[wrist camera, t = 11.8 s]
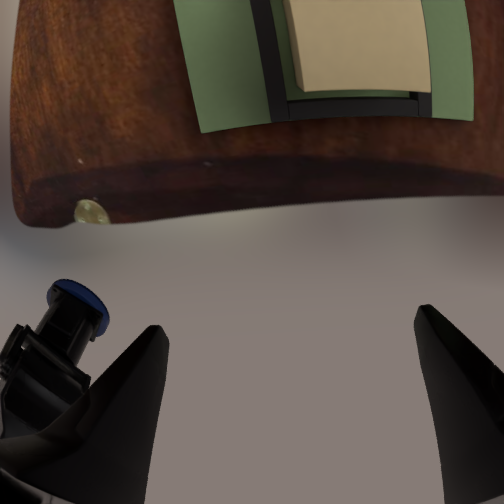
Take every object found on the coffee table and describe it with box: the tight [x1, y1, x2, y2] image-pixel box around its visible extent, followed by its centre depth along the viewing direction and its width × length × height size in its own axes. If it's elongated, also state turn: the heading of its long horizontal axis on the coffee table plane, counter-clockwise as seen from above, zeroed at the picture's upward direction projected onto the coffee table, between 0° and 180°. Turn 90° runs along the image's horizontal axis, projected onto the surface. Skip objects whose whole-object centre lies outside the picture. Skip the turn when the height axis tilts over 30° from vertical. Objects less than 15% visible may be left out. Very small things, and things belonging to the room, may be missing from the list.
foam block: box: [282, 0, 431, 93], centre depth 11 cm, size 6×6×4 cm
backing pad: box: [173, 0, 474, 133], centre depth 12 cm, size 18×10×2 cm, turn 99°
